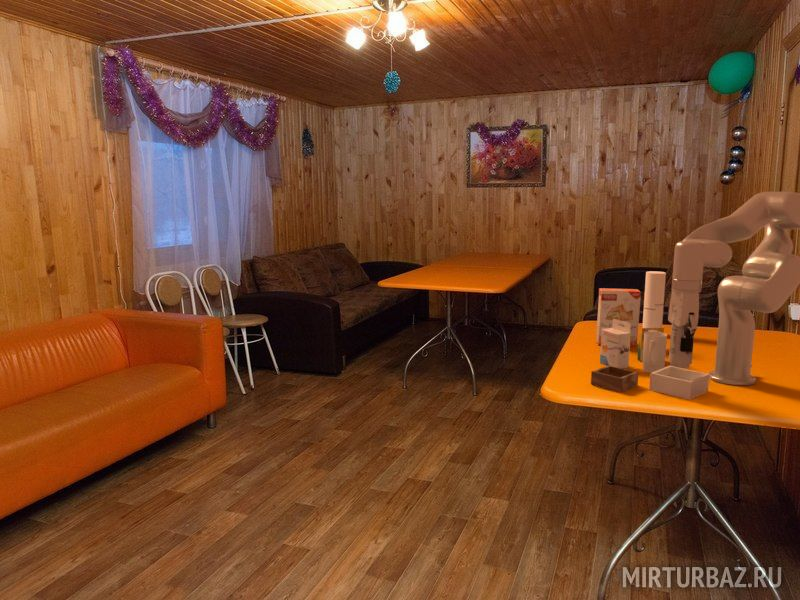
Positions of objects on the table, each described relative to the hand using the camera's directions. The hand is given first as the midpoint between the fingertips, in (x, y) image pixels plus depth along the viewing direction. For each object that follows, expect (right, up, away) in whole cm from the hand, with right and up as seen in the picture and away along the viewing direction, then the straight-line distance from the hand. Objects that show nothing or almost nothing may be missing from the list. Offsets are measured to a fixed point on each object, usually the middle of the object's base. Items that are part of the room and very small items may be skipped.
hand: (681, 347), depth 173 cm
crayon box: (+5, -7, +33) cm, 35 cm away
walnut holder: (-16, -12, +8) cm, 21 cm away
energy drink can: (0, -5, +1) cm, 5 cm away
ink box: (-9, -8, +28) cm, 31 cm away
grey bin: (0, -12, +2) cm, 13 cm away
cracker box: (+1, -3, +55) cm, 55 cm away
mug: (0, -9, +20) cm, 23 cm away
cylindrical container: (+21, 0, +71) cm, 74 cm away
